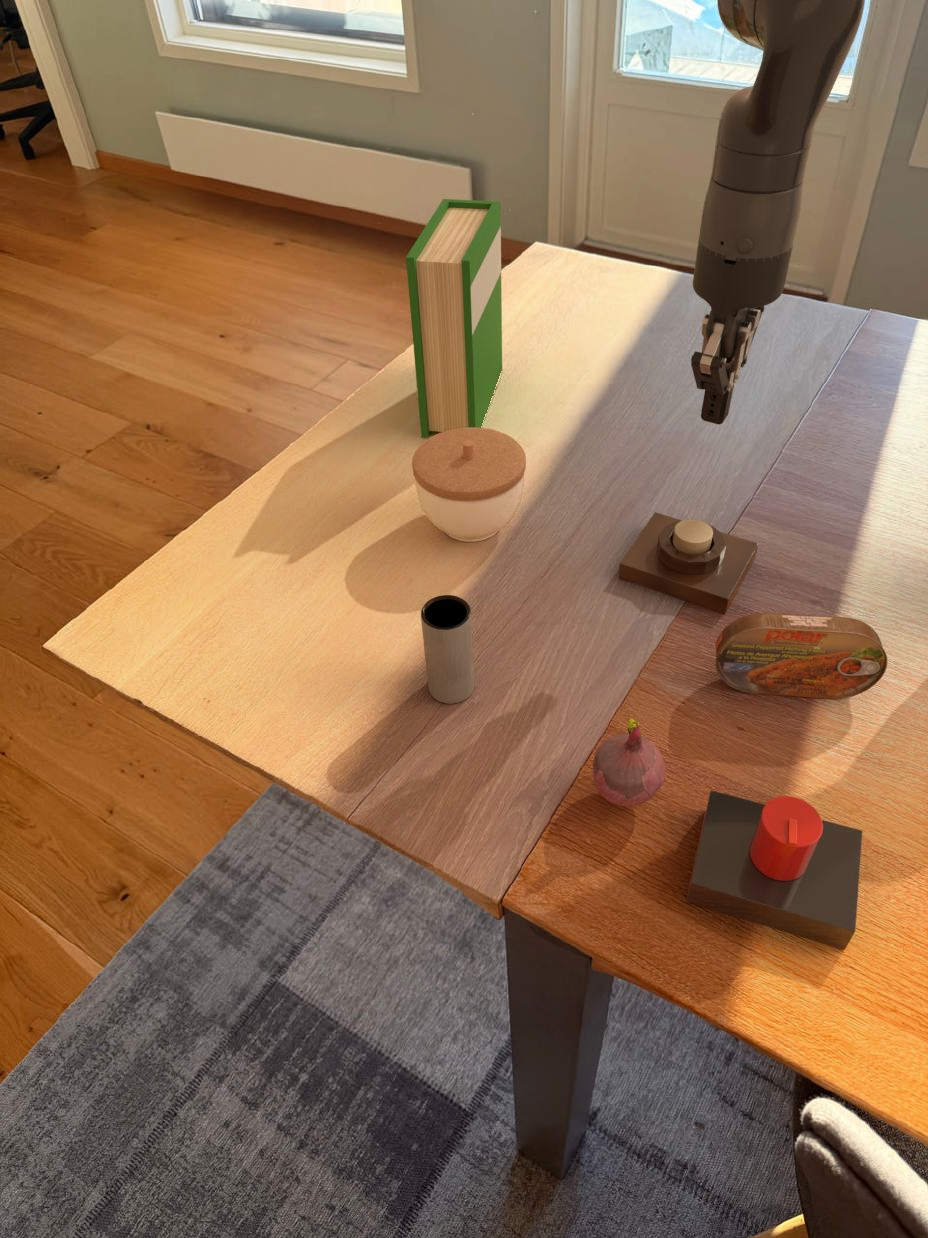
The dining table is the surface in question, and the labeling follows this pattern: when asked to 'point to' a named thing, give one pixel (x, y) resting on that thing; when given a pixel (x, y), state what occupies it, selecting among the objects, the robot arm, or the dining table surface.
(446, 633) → the planter
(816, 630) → the tin
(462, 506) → the lidded bowl
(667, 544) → the button housing
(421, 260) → the hardback book
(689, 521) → the button
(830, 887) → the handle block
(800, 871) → the dial knob
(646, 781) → the vegetable
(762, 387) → the dining table surface
